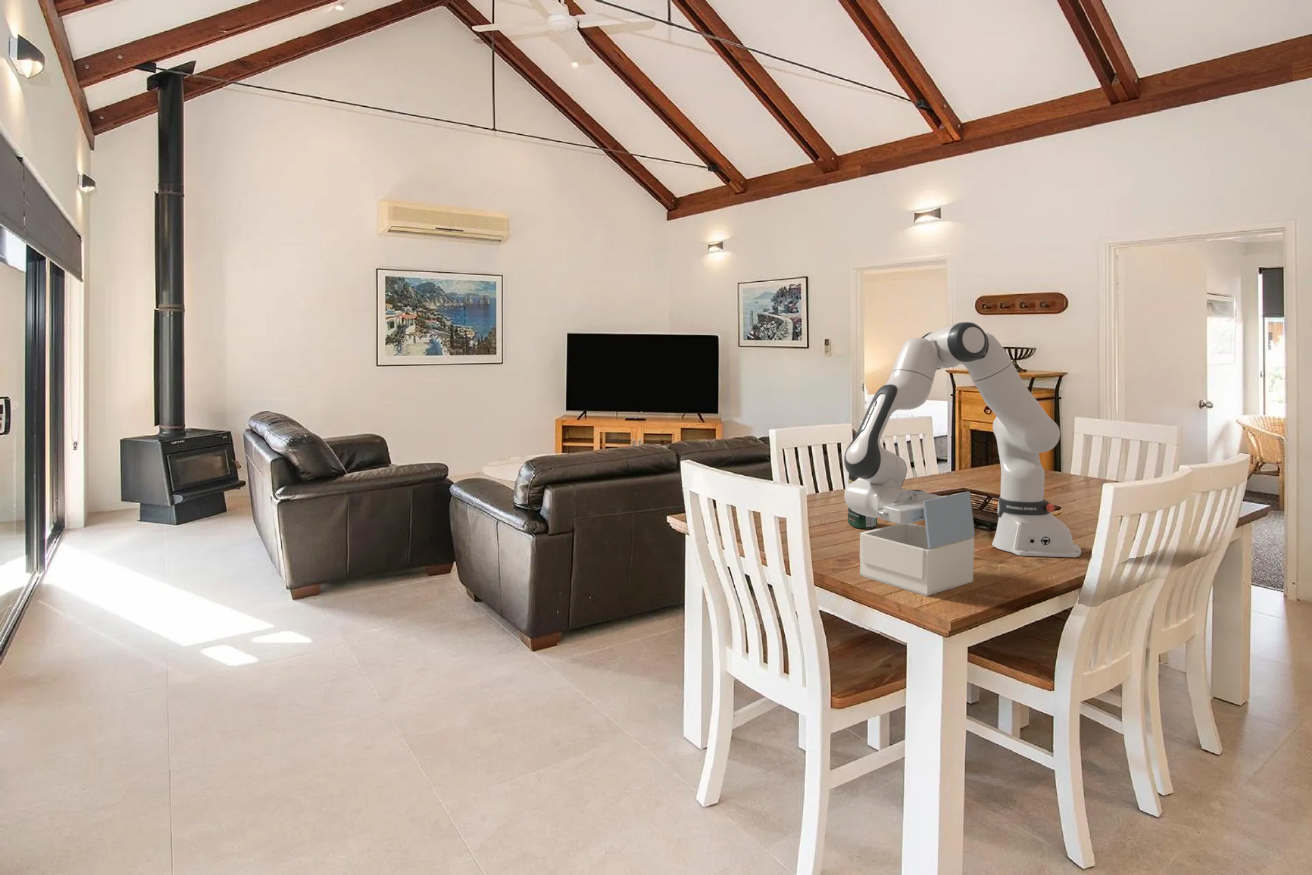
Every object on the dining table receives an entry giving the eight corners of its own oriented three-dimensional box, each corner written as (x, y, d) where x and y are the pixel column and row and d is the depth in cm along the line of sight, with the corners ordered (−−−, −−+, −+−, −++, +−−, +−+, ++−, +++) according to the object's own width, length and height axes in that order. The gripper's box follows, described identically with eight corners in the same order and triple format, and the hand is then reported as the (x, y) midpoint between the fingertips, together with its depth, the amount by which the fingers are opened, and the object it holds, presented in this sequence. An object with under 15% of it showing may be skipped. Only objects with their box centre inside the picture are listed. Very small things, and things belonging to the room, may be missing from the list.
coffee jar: (843, 523, 251) (844, 466, 248) (866, 521, 252) (867, 465, 250) (857, 530, 241) (858, 471, 239) (880, 528, 243) (882, 470, 241)
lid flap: (922, 500, 179) (924, 500, 178) (967, 491, 188) (969, 491, 188) (928, 548, 179) (930, 548, 178) (972, 536, 188) (974, 536, 188)
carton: (856, 575, 196) (857, 533, 195) (905, 562, 207) (906, 522, 206) (925, 597, 179) (926, 551, 178) (974, 581, 190) (975, 537, 189)
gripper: (872, 498, 189) (919, 508, 177) (925, 488, 200) (972, 497, 189) (871, 524, 190) (918, 535, 178) (924, 512, 201) (972, 522, 189)
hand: (947, 515), depth 183 cm, fingers closed, pressing on lid flap
